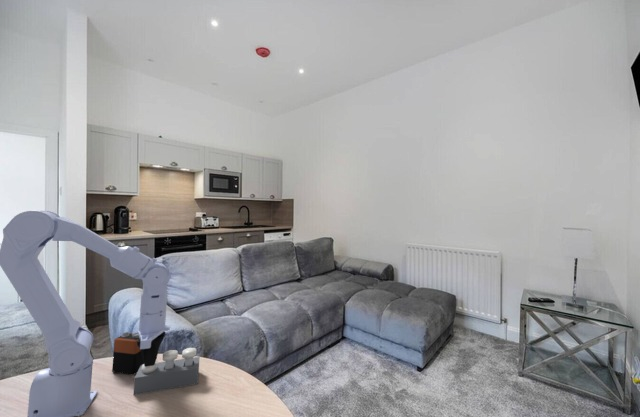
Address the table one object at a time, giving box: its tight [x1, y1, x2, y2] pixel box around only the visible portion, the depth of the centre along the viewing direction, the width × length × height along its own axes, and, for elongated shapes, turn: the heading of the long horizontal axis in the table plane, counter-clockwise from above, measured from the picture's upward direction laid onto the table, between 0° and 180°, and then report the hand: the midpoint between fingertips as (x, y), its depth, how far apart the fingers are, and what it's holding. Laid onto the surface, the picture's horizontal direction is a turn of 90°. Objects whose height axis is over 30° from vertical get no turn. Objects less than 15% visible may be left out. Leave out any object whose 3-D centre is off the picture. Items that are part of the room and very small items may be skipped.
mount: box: [132, 356, 200, 396], centre depth 69 cm, size 14×6×4 cm, turn 112°
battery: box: [111, 331, 144, 376], centre depth 74 cm, size 4×7×10 cm, turn 83°
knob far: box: [181, 347, 197, 367], centre depth 71 cm, size 3×3×5 cm
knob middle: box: [162, 349, 179, 370], centre depth 69 cm, size 3×3×5 cm
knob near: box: [142, 361, 159, 373], centre depth 68 cm, size 3×3×5 cm
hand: (149, 364), depth 68 cm, fingers closed, pressing on knob near
